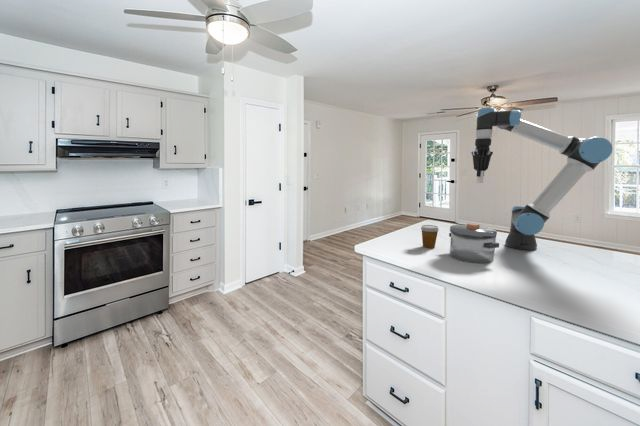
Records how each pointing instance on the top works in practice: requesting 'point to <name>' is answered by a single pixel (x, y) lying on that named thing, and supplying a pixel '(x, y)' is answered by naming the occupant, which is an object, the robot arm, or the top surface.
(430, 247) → the disposable coffee cup
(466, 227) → the pot lid
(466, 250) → the cooker pot
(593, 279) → the top surface
